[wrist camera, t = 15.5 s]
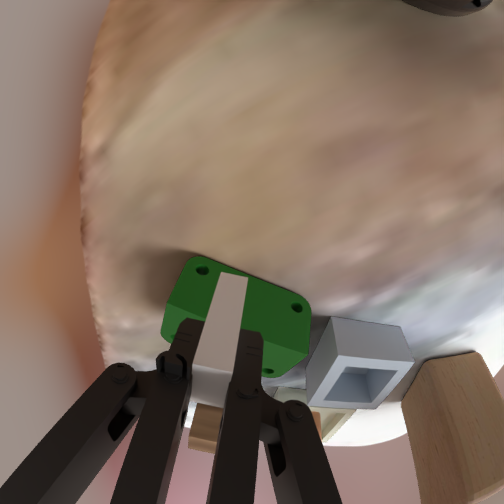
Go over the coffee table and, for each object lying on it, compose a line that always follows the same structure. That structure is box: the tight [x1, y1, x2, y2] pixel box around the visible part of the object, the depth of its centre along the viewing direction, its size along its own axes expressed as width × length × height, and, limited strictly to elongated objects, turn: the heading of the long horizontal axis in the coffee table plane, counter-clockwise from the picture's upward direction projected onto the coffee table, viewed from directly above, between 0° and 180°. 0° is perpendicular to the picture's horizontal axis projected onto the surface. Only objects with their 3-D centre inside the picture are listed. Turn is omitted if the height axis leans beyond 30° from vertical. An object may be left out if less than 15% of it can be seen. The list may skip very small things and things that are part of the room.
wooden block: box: [401, 352, 504, 504], centre depth 21 cm, size 10×10×20 cm
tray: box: [273, 386, 357, 442], centre depth 33 cm, size 10×10×2 cm
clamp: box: [161, 256, 311, 378], centre depth 24 cm, size 12×6×9 cm, turn 61°
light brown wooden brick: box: [188, 403, 223, 454], centre depth 30 cm, size 4×4×8 cm
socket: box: [305, 316, 415, 409], centre depth 26 cm, size 8×8×5 cm
